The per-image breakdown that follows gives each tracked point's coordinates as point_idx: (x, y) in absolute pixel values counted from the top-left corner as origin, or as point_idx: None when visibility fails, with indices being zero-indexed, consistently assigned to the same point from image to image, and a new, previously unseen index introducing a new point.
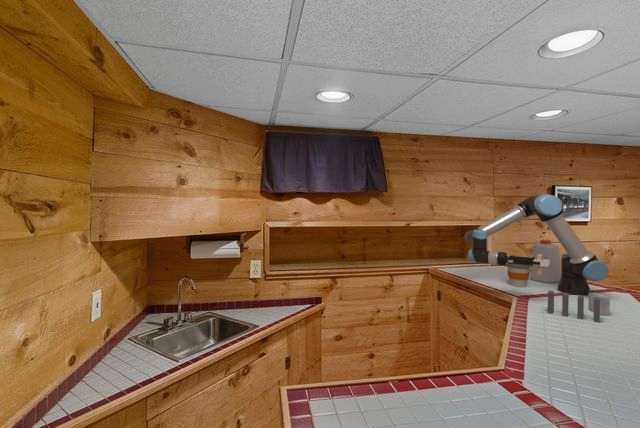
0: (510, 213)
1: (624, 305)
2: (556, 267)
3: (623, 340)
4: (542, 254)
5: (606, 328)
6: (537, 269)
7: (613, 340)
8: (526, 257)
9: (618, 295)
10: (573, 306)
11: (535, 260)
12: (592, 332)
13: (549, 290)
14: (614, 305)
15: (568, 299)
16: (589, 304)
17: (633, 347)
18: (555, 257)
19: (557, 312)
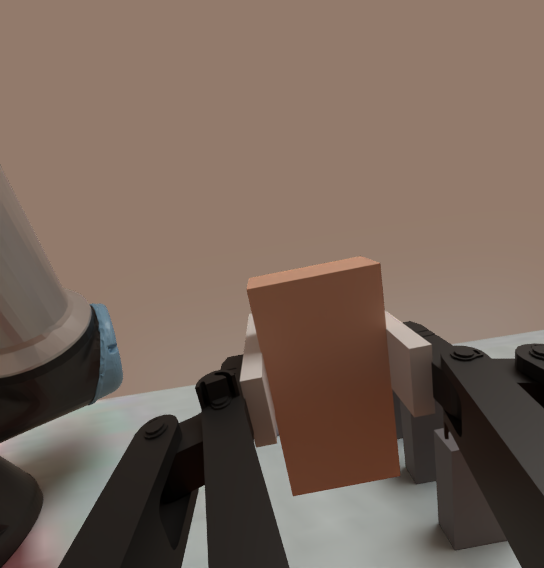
0: None
1: (163, 400)
2: None
3: (480, 349)
4: (254, 278)
5: None
6: (393, 425)
7: (509, 354)
8: (123, 538)
9: (41, 429)
10: (265, 482)
11: (413, 333)
12: None
13: (449, 449)
14: (174, 411)
15: (402, 412)
16: (275, 418)
17: (500, 337)
18: None
19: (437, 503)
